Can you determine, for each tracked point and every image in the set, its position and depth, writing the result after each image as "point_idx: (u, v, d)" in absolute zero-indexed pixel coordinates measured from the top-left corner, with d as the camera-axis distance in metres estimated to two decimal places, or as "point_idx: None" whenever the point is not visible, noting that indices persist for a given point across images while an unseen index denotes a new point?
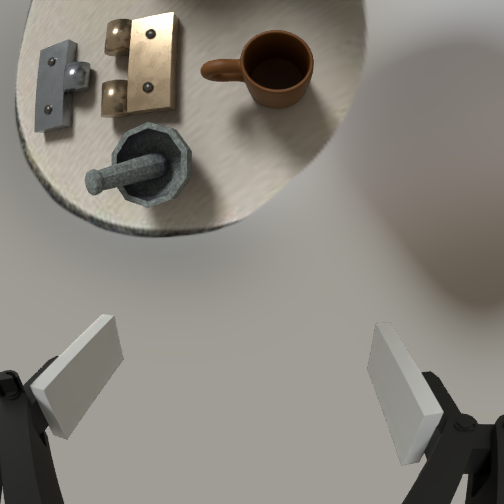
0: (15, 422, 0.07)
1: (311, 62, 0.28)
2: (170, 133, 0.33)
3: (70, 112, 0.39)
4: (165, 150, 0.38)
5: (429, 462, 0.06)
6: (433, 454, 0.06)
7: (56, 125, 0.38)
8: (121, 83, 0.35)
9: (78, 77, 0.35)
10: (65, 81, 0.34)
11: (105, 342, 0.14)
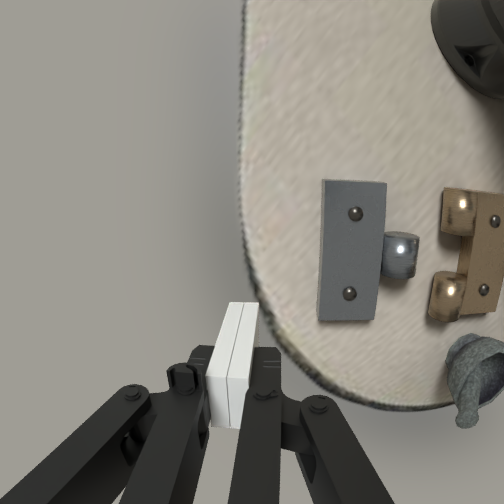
0: (176, 421, 0.09)
1: None
2: None
3: None
4: None
5: (240, 435, 0.08)
6: (242, 427, 0.08)
7: (363, 318, 0.32)
8: (466, 285, 0.29)
9: (415, 264, 0.29)
10: (398, 267, 0.29)
11: None
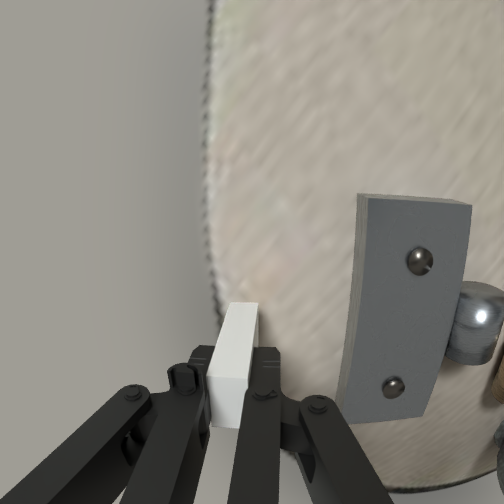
0: (177, 421, 0.09)
1: None
2: None
3: None
4: None
5: (240, 435, 0.08)
6: (241, 427, 0.08)
7: (407, 416, 0.17)
8: None
9: None
10: (476, 348, 0.14)
11: None
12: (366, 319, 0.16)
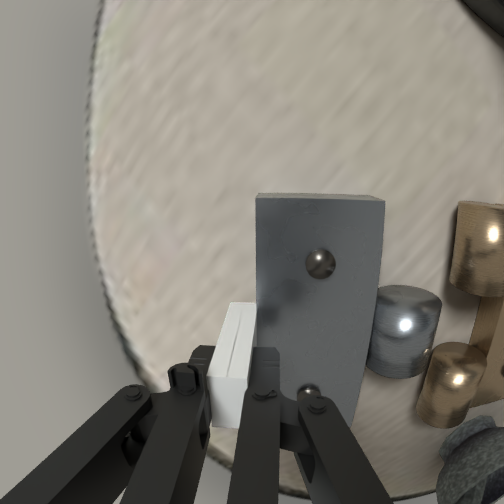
0: (177, 421, 0.09)
1: None
2: None
3: None
4: None
5: (239, 435, 0.08)
6: (241, 427, 0.08)
7: None
8: (484, 371, 0.15)
9: (430, 350, 0.15)
10: (398, 360, 0.15)
11: None
12: (265, 323, 0.16)
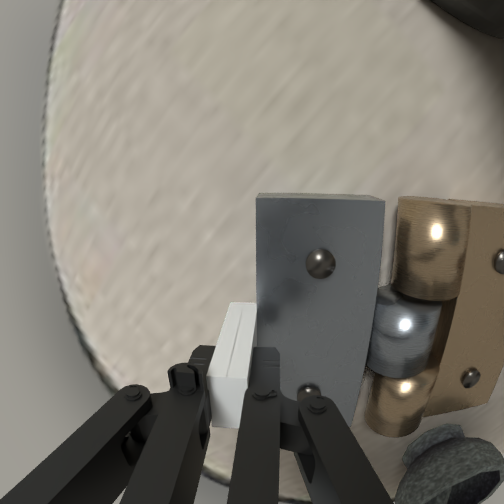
0: (177, 421, 0.09)
1: None
2: (502, 468, 0.14)
3: None
4: None
5: (239, 435, 0.08)
6: (240, 427, 0.08)
7: None
8: (436, 379, 0.15)
9: (430, 349, 0.15)
10: (398, 360, 0.15)
11: None
12: (266, 322, 0.16)
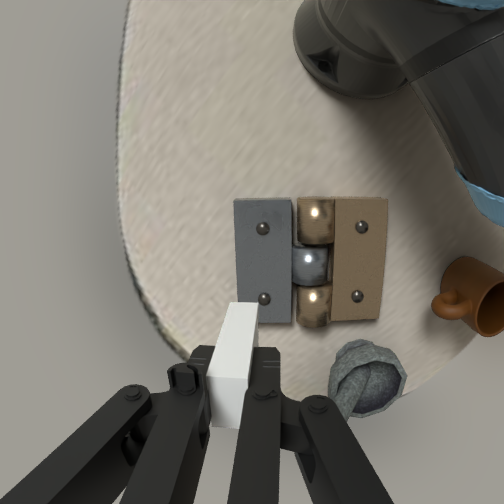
0: (177, 421, 0.09)
1: None
2: (396, 363, 0.33)
3: None
4: None
5: (240, 435, 0.08)
6: (241, 427, 0.08)
7: (280, 321, 0.37)
8: (329, 291, 0.34)
9: (323, 271, 0.34)
10: (304, 275, 0.34)
11: None
12: (240, 258, 0.35)
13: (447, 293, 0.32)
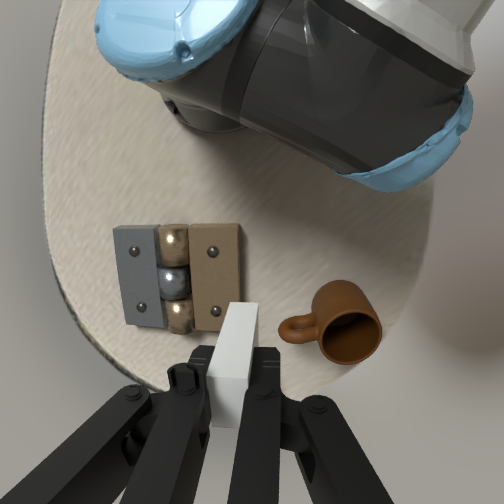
0: (177, 421, 0.09)
1: (379, 338, 0.33)
2: None
3: None
4: None
5: (240, 435, 0.08)
6: (241, 427, 0.08)
7: (156, 326, 0.43)
8: (187, 305, 0.41)
9: (180, 289, 0.40)
10: (164, 291, 0.40)
11: None
12: (120, 273, 0.41)
13: (301, 316, 0.38)
